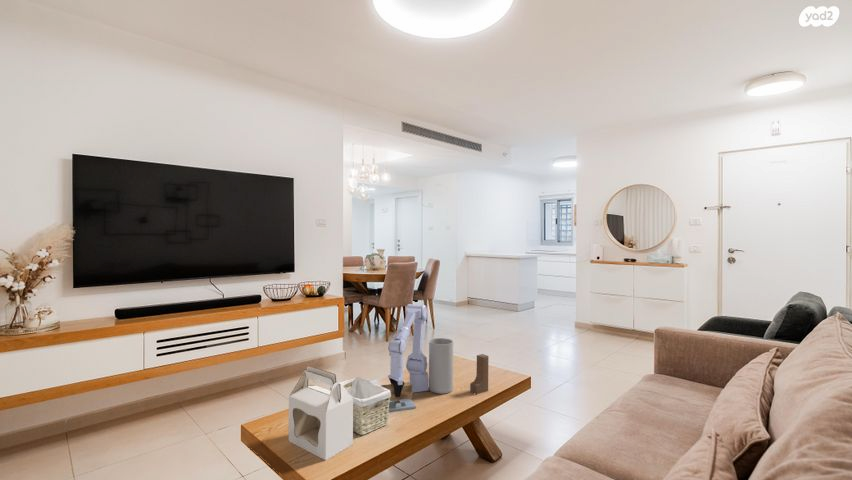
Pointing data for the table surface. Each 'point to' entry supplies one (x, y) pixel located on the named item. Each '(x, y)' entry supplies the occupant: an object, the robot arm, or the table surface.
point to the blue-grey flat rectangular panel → (402, 405)
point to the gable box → (320, 415)
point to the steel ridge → (396, 403)
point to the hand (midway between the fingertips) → (396, 395)
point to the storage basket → (368, 404)
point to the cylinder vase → (441, 365)
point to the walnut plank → (405, 391)
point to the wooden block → (480, 375)
